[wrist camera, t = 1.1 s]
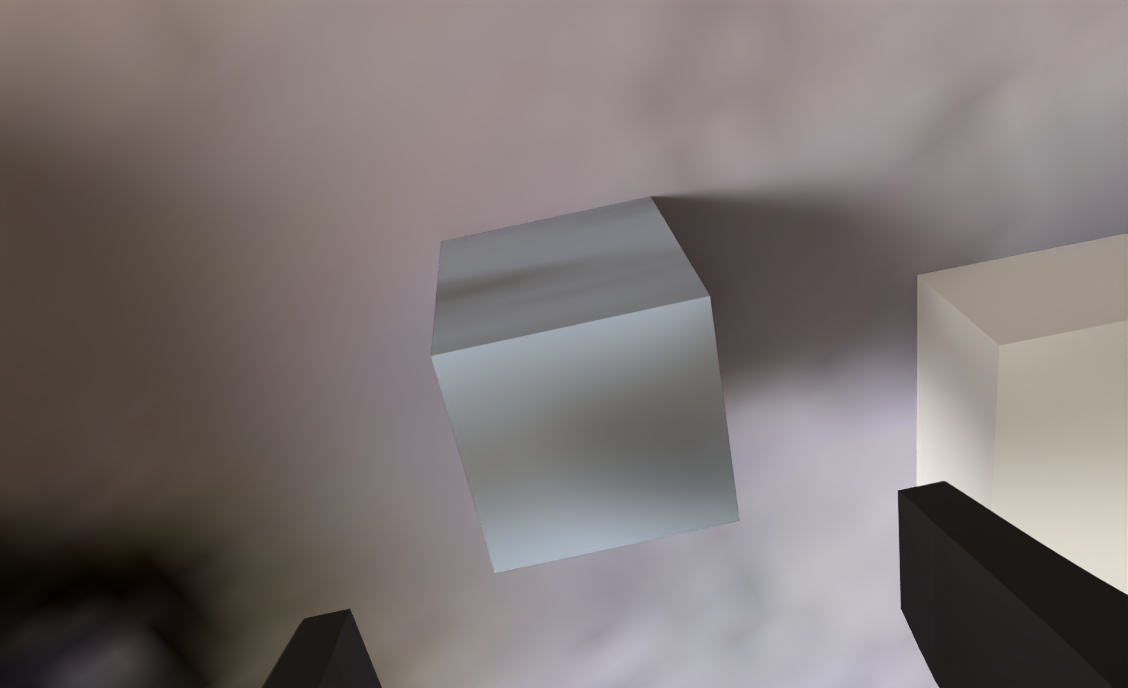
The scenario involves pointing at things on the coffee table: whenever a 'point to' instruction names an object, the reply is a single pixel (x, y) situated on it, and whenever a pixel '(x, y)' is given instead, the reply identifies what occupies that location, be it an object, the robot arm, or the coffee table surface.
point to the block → (582, 384)
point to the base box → (1033, 395)
